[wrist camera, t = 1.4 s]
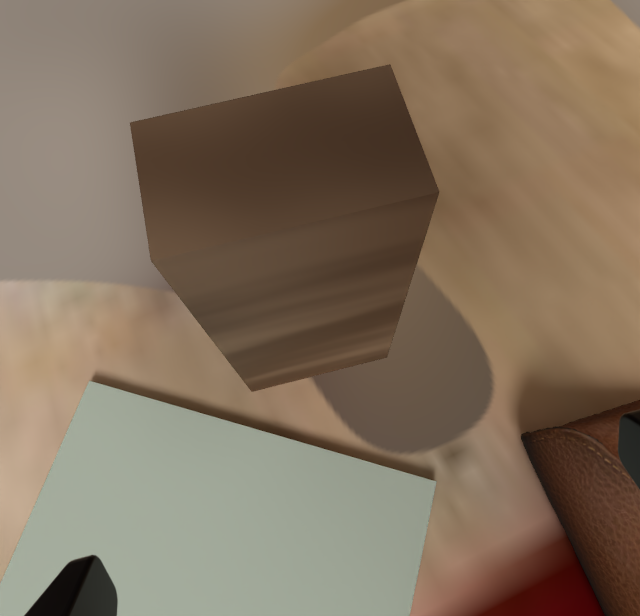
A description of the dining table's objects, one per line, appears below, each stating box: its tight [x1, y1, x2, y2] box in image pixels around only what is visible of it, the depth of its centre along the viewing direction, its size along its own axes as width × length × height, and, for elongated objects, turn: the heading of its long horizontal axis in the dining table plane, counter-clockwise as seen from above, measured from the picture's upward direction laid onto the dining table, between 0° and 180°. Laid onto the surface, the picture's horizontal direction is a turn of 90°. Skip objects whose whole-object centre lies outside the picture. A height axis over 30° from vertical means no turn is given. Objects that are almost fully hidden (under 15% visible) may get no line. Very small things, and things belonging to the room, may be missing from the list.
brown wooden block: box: [130, 65, 439, 391], centre depth 17 cm, size 4×6×13 cm, turn 104°
